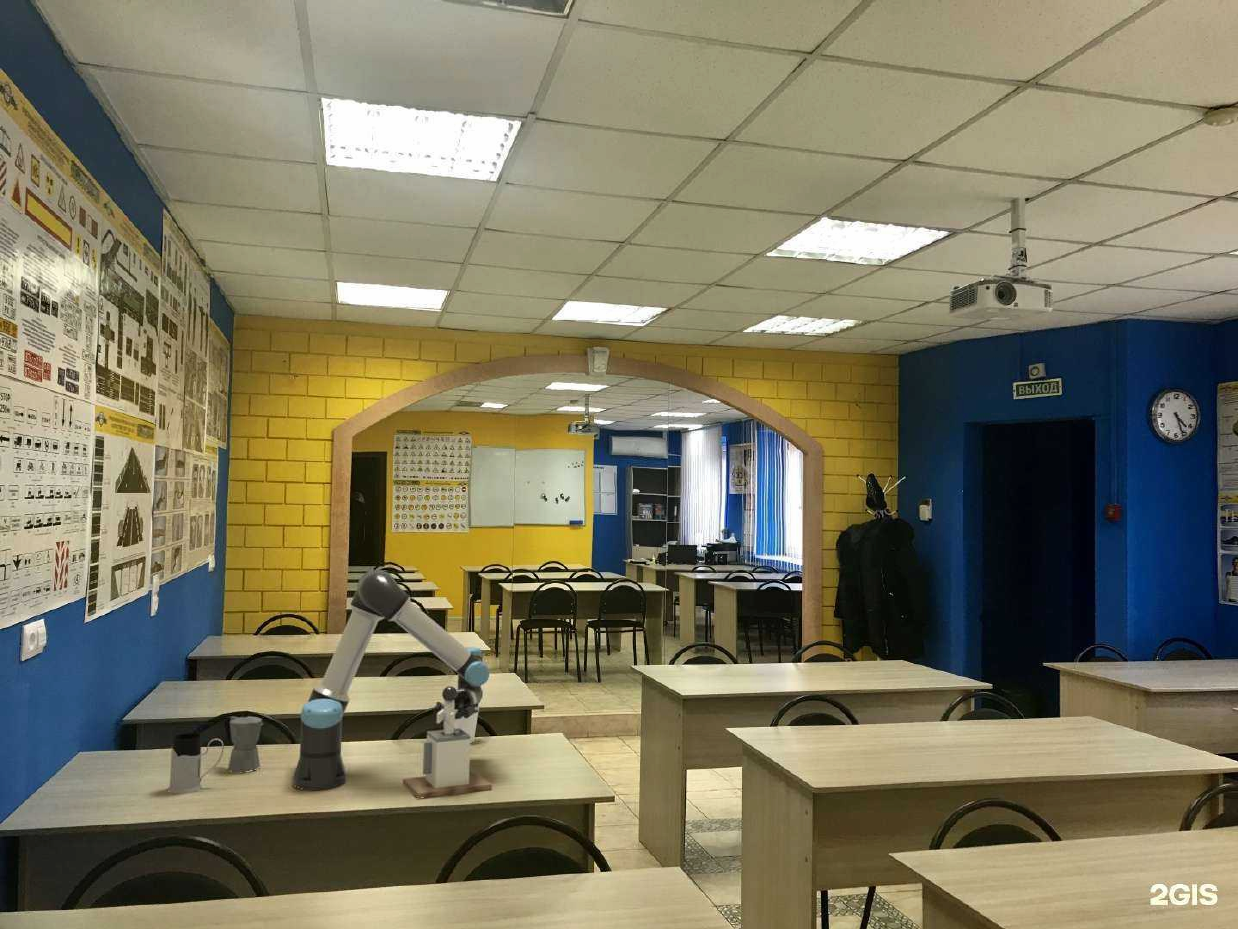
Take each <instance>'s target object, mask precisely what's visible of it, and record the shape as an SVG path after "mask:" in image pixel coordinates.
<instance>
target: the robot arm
mask: <svg viewBox="0 0 1238 929" xmlns="http://www.w3.org/2000/svg"><path fill="white" fill-rule="evenodd" d="M349 606H350V608H351V614H350V617H349V618H348V621H347V623H346V626H345V628H344V630H343V633H342V634H341V637H340V638H339V642H338V643H337V646H336V648H335V651H334V653H333V656H332V658H331V660H330V663H328V664H329V665H328V667H327V669H326V671H325V672H324V677H323V678H322V680H321V683H320V684H317V685H316V686H313V689H312V691H311V693H310V696H309V698H308V699H307V702H306V703H304V704H303V705H302V707H301V712H300V743H299V745H300V746H299V758H298V761H297V763H296V767H295V770H294V772H293V774H292V775H293V776H292V783H293V785H294V786H296V787H299V788H303V789H302V790H305V789H312V790H311V791H318V790H319V789H321V790H328V788H329V789H333V787H334V788H337V787H340V786H342V785H344V784H345V783H346V782H347V773H346V771H347V770H346V769H345V765H344V762H343V758H342V732H343V716H344V714H345V712H346V710H347V706H348V705H349V703H350V701H351V700H350V696H349V695H348V692H349V689H350V687H351V685H352V683H353V681H354V679H355V675H356V674H357V672H358V669H359V666H360V664H361V663H362V660H363V657H364V655H365V652H366V650H367V648H368V646H369V643H370V641H371V638H372V636H373V633H374V632H375V630H376V627H377V625H378V623H379V621H382V620H383V619H385V620H386V621H388V622H395V623H396V624H397V625H398V626H399V627H401V628H402V629H404V631H406V632H407V633H409V635H410V636H411V637H413V638H414V639H415V640H417V641H418V642H419V643H420V644H422V646H424V647H425V648H426V649H427V650H429V651H430V652H431V653H433V654H434V655H435V657H437V658H439V659H440V660H441V661H442V662H443V663H444V664H446V665H447V666H448V667H450V668H451V669H452V670H454V671H455V673H457V697H456V699H455V705H454V711H453V712H452V713H451V714H450V724H453V723H454V722H455V721H456V720H457V719H461V718H462V717H464V718H469V717H470V716H471V715H473V714H474V713H476V712H478V705H479V706H480V703H481V701H482V698H483V695H484V690H483V688H482V686H483V685H485V684H486V683H487V682H488V680H489V678H490V670H489V667H488V664H486V663H485V662H484V661H483V660H482V659H483V654H482V649H481V648H480V647H470V646H469V647H468V646H467V647H466V646H464V645H463V644H462V643H460V642H459V640H457V639H456V638H455V637H453V635H451V634H450V633H449V632H447V631H446V630H445V628H443V627H442V626H440V625H439V624H438V623H437V622H436V621H435V620H433V619H432V618H431V617H429V616H428V614H426V613H425V612H424V611H422V610H421V609H420V608H419V607H417V606H416V605H415V604H414V603H413V602H412V601H411V597H410V596H409V594H407V593H406V592H405V591H404V590H403V589H402V588H401V587H400V586H399V584H398V582H396V580H395V579H394V577H393V576H392V574H390V573H389V572H387V571H385V570H382V569H373V570H370V571H367V572H366V573H364V574H363V575H362V576H361V577H360V578H359V580H358V582H357V588H356V591H355V593H354V595H353V597H352V599H351V601H350V605H349ZM435 703H436V704H435V706H434V707H433V711H432V712H433V715H432V716H433V718H435V719H436V724H440V723H441V722H442V721H444V702H440V701H437V702H435ZM478 713H479V712H478ZM293 785H292V786H293ZM294 786H293V787H294ZM296 787H295V788H296ZM299 788H298V789H299ZM313 789H315V790H313ZM317 789H318V790H317Z"/></svg>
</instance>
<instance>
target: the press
mask: <svg viewBox="0 0 1238 929" xmlns="http://www.w3.org/2000/svg"><path fill="white" fill-rule="evenodd" d="M443 730H444V729H439V730H429V731H426V741H424V742H423V760H422V765H423V766H422V774H423V775H425V776H426V780H427V781H428V782H429V783H430V784H431V785H433V786H434V787H435V788H442V787H450V786H458V785H466V784H469V771H470V762H471V761H470V758H471V756H470V755H471V751H470V750H471V744H470V735H469V734H467V733H466V732H464V731H463V730H461V729H460V728H458V729H454V735H446V736H444V735H443Z"/></svg>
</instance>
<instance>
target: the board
mask: <svg viewBox="0 0 1238 929" xmlns="http://www.w3.org/2000/svg"><path fill="white" fill-rule="evenodd" d="M402 785H403V786H404V785H405V786H406V787H407V788H408V789H409V790H408V789H407V788H406V787H405V786H404V787H405V788H406V789H407V790H408V791H411V792H412V793H413V794H414V795H415V796H416V797H417V798H421V797H430V798H435V797H434V796H438V797H444V796H445V795H446V796H452V795H453V794H454V795H459V794H460V793H461V794H467V793H468V794H469V793H475V792H474V791H477V792H484V791H491V790H492V788H493V785H492V783H491V782H489V781H488V780H487V779H485V777H483V776H481V775H480V774H479V773H477V771H475V770H469V784H466V785H458V786H450V787H442V788H435V787H434V786H433V785H431V784H430V783H429V782H428V781H427V780H426V775H425V776H417V777H407V778H402ZM411 792H410V793H411ZM412 793H411V794H412ZM413 794H412V795H413ZM414 795H413V796H414ZM415 796H414V797H415ZM416 797H415V798H416ZM417 798H416V799H417Z"/></svg>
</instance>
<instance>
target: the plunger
mask: <svg viewBox="0 0 1238 929" xmlns="http://www.w3.org/2000/svg"><path fill="white" fill-rule="evenodd" d="M457 691H458V689H457V688H455V687H454V686H446V687H445V688H444V689H443V690H442V692H441V693H442V694H441V696H442V698H443V700H444V701H443V704H444V719H443V729H442V730H443V735H444V736H446V735H454V723H453V724H450V714H451V713H452V712H453V711H454V705H455V699H456V697H457Z"/></svg>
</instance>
